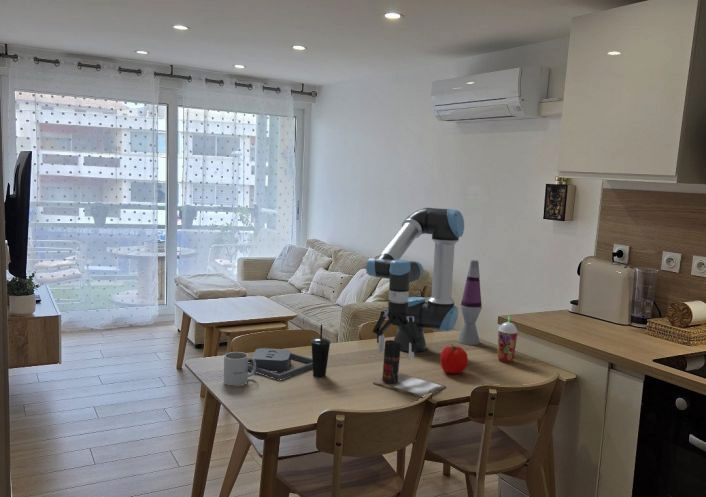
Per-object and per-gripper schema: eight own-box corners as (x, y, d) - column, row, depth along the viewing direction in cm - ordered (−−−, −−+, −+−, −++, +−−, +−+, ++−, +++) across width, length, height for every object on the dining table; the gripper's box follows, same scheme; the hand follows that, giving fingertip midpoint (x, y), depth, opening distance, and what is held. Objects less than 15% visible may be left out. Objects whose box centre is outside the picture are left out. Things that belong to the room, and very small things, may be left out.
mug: (227, 387, 206) (227, 360, 205) (221, 379, 214) (221, 353, 213) (260, 383, 212) (261, 356, 211) (253, 375, 219) (254, 350, 218)
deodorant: (381, 377, 222) (384, 339, 220) (397, 378, 222) (399, 340, 220) (382, 383, 216) (385, 343, 214) (398, 383, 216) (401, 344, 214)
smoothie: (513, 358, 257) (517, 314, 254) (516, 364, 248) (520, 319, 246) (494, 357, 257) (497, 313, 255) (497, 363, 249) (500, 317, 247)
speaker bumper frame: (235, 366, 229) (235, 361, 229) (277, 353, 248) (277, 348, 248) (279, 380, 215) (279, 375, 215) (319, 365, 234) (319, 361, 234)
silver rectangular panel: (373, 383, 217) (373, 380, 217) (395, 373, 230) (396, 369, 230) (424, 399, 204) (425, 395, 204) (445, 387, 217) (445, 383, 217)
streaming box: (256, 360, 239) (256, 347, 238) (291, 361, 238) (291, 349, 238) (249, 371, 224) (250, 358, 224) (286, 373, 224) (287, 360, 223)
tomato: (450, 366, 242) (451, 340, 241) (473, 373, 234) (475, 346, 233) (432, 371, 234) (434, 345, 232) (455, 379, 226) (457, 352, 224)
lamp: (457, 343, 276) (463, 261, 271) (457, 337, 286) (462, 258, 281) (480, 345, 274) (486, 262, 269) (479, 339, 285) (485, 259, 280)
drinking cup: (332, 373, 225) (334, 324, 223) (324, 380, 218) (327, 328, 216) (314, 370, 228) (316, 321, 225) (306, 376, 221) (308, 325, 218)
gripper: (365, 297, 221) (363, 350, 224) (422, 308, 207) (419, 365, 210) (376, 294, 227) (374, 346, 230) (432, 305, 213) (429, 360, 216)
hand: (395, 355), depth 220 cm, fingers open, 13 cm apart
